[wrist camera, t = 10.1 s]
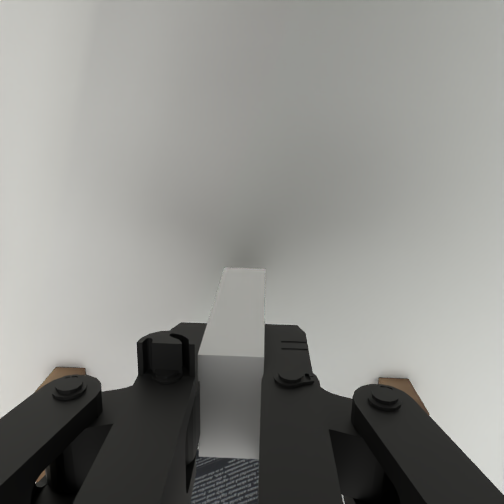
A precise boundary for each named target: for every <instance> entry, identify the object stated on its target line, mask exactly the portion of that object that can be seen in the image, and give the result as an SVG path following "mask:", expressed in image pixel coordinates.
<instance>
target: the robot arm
mask: <svg viewBox="0 0 504 504" xmlns="http://www.w3.org/2000/svg"><path fill="white" fill-rule="evenodd" d="M137 357H138V377H137V378H136V380H135V382H134V384H133V386H130V387H127V388H122V389H117V390H111V391H104V392H102V391H101V382H100V381H99V380H98V379H97V378H94V377H92V376H89V375H79V374H74V375H67V376H63V377H61V378H58V379H55V380H53V381H51V382H49V383H47V384H46V385H44V386H43V387H41V388H40V389H39V390H37V391H36V392H35V393H33V394H32V395H31V396H29V397H28V398H27V399H26V400H24V401H23V402H22V403H20V404H19V405H18V406H16V407H15V408H14V409H12V410H11V411H10V412H8V413H7V414H6V415H5V416H3V417H2V418H1V419H0V504H190V501H191V496H192V491H193V486H194V481H195V476H196V452H197V447H198V443H199V457H219V458H243V459H259V477H258V504H343V501H342V496H341V494H342V495H344V501H345V504H504V495H503V494H502V493H501V492H500V491H499V490H498V489H497V488H496V486H495V485H494V484H493V483H492V482H491V481H490V480H489V479H488V478H487V477H486V476H485V475H484V474H483V473H482V472H481V470H480V469H479V468H478V467H477V466H476V465H475V464H474V463H473V462H472V461H471V460H470V459H469V458H468V457H467V456H466V454H465V453H464V452H463V451H462V450H461V449H460V448H459V447H458V446H457V445H456V444H455V443H454V442H453V441H452V440H451V438H450V437H449V436H448V435H447V434H446V433H445V432H444V431H443V430H442V429H441V428H440V427H439V426H438V425H437V424H436V422H435V421H434V420H433V419H432V418H431V417H430V416H429V415H428V414H427V413H426V412H425V411H424V410H423V409H422V408H421V407H420V405H419V404H418V403H417V402H416V401H415V400H414V399H413V398H412V397H411V396H409V395H408V394H407V393H405V392H404V391H402V390H399V389H397V388H395V387H393V386H389V385H384V384H369V385H365V386H361V387H360V388H358V389H357V390H355V392H354V395H353V399H350V398H346V397H342V396H338V395H335V394H332V393H330V392H328V391H326V390H324V389H323V388H321V387H320V383H319V380H318V378H317V376H316V375H315V374H313V373H312V367H311V362H310V356H309V351H308V345H307V339H306V334H305V332H304V331H303V330H302V329H300V328H299V327H298V326H297V325H272V324H265V269H262V268H231V267H224V270H223V273H222V276H221V280H220V283H219V286H218V289H217V293H216V296H215V299H214V303H213V306H212V309H211V313H210V316H209V319H208V322H207V323H180V324H178V325H177V326H175V327H174V328H173V329H171V330H170V331H160V332H155V333H151V334H148V335H146V336H144V337H142V338H141V339H140V340H139V341H138V342H137ZM44 470H45V475H44V477H43V478H42V479H41V480H40V481H39V482H37V483H36V484H35V482H36V480H37V479H38V477H39V476H40V475H41V473H42V472H43V471H44Z"/></svg>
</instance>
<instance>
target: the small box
mask: <svg viewBox="0 0 504 504" xmlns="http://www.w3.org/2000/svg"><path fill="white" fill-rule="evenodd" d="M258 477H259V459H243V458H219V457H199V450H197V452H196V476H195V481H194V486H193V491H192V496H191V501H190V504H258Z"/></svg>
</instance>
